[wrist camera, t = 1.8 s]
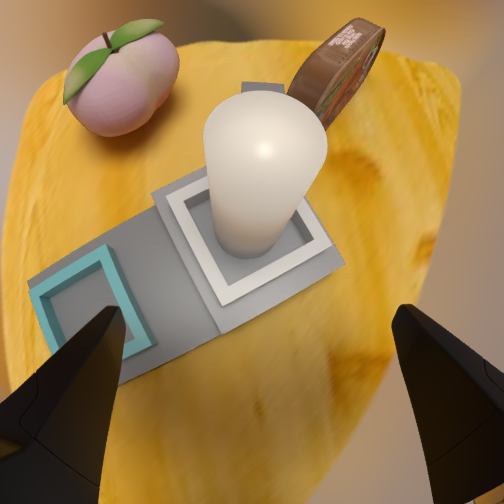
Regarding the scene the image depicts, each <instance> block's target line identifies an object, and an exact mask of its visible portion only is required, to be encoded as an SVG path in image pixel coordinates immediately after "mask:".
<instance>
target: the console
mask: <svg viewBox="0 0 504 504" xmlns="http://www.w3.org/2000/svg"><path fill="white" fill-rule="evenodd" d="M151 195H152V198H153V200H154V202H155V204H156V205H155V206H153V207H151V208H149V209H147V210H145V211H143V212H142V213H140V214H138V215H136V216H134V217H132V218H130V219H129V220H127V221H125V222H123V223H121V224H120V225H118V226H116V227H114V228H113V229H111V230H109V231H107V232H106V233H104V234H102V235H100V236H99V237H97V238H95V239H93V240H92V241H90V242H88V243H87V244H85V245H83V246H82V247H80V248H78V249H77V250H75V251H73V252H72V253H70V254H69V255H67V256H65V257H64V258H62V259H61V260H59V261H57V262H56V263H54V264H53V265H51V266H50V267H48V268H46V269H45V270H43V271H42V272H40V273H39V274H37V275H36V276H34V277H33V278H31V279H30V280H28V281H27V282H28V286H29V289H30V290H29V294H30V298H31V301H32V304H33V307H34V310H35V312H36V315H37V318H38V321H39V324H40V326H41V329H42V331H43V334H44V337H45V339H46V341H47V344H48V346H49V349H50V351H51V353H52V355H53V354H54V353H55V352H56V351H57V350H58V349H60V348H61V347H62V346H63V345H64V344H65V343H66V342H67V341H68V340H69V339H70V338H71V337H72V336H73V335H75V334H76V333H77V332H78V331H79V330H80V329H81V328H82V327H83V326H84V325H86V324H87V323H88V322H89V321H90V320H91V319H92V318H93V317H94V316H95V315H97V314H98V313H99V312H100V311H101V310H102V309H103V308H104V307H106V306H107V305H115V306H119V307H120V308H121V310H122V314H123V317H124V321H125V324H126V335H125V342H124V349H123V357H122V366H121V373H120V378H119V382H118V385H120V384H122V383H125V382H127V381H129V380H131V379H133V378H135V377H137V376H139V375H141V374H144V373H146V372H148V371H150V370H152V369H154V368H156V367H158V366H160V365H162V364H164V363H166V362H168V361H170V360H172V359H174V358H176V357H178V356H180V355H182V354H184V353H186V352H188V351H190V350H192V349H194V348H196V347H198V346H200V345H202V344H204V343H205V342H207V341H209V340H211V339H213V338H215V337H217V336H219V335H221V334H222V335H223V334H225V333H227V332H229V331H230V330H232V329H234V328H236V327H238V326H240V325H242V324H243V323H245V322H247V321H249V320H251V319H252V318H254V317H256V316H258V315H260V314H261V313H263V312H265V311H267V310H269V309H270V308H272V307H274V306H276V305H277V304H279V303H281V302H283V301H284V300H286V299H288V298H290V297H291V296H293V295H295V294H296V293H298V292H300V291H302V290H303V289H305V288H307V287H308V286H310V285H312V284H313V283H315V282H317V281H318V280H320V279H322V278H323V277H325V276H327V275H328V274H330V273H332V272H333V271H335V270H337V269H338V268H340V267H341V266H343V265H345V262H344V260H343V258H342V257H341V255H340V253H339V252H338V250H337V248H336V246H335V245H334V243H333V241H332V240H331V238H330V236H329V235H328V233H327V231H326V230H325V228H324V226H323V225H322V223H321V221H320V220H319V218H318V216H317V215H316V213H315V211H314V210H313V208H312V207H311V205H310V203H309V202H308V200H307V199H306V197H305V195H304V197H303V199H302V200H301V202H300V204H299V205H298V207H297V209H296V210H295V212H294V214H293V215H292V217H291V219H290V220H289V222H288V223H287V225H286V227H285V228H284V230H283V232H282V233H281V235H280V237H279V238H278V240H277V241H276V243H275V245H274V246H273V247H272V249H271V250H270V251H268V252H267V253H266V254H264V255H263V256H260V257H258V258H254V259H241V258H237V257H234V256H232V255H230V254H229V253H227V252H226V251H225V250H224V249H223V248H222V247H221V246H220V244H219V243H218V241H217V239H216V236H215V231H214V223H213V216H212V208H211V200H210V192H209V184H208V176H207V168H206V166H205V167H203V168H201V169H199V170H197V171H195V172H192V173H190V174H188V175H186V176H184V177H182V178H180V179H178V180H176V181H174V182H172V183H170V184H168V185H166V186H164V187H162V188H160V189H158V190H156V191H154V192H152V193H151Z"/></svg>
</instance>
